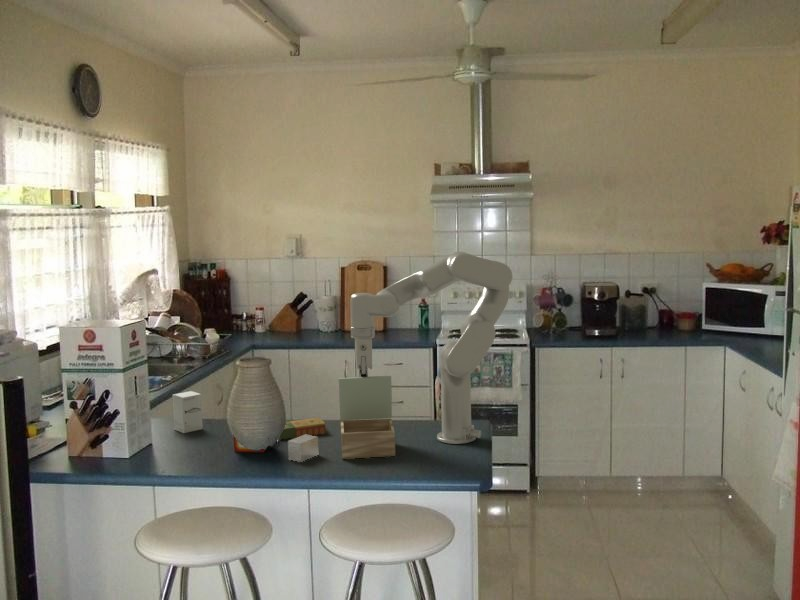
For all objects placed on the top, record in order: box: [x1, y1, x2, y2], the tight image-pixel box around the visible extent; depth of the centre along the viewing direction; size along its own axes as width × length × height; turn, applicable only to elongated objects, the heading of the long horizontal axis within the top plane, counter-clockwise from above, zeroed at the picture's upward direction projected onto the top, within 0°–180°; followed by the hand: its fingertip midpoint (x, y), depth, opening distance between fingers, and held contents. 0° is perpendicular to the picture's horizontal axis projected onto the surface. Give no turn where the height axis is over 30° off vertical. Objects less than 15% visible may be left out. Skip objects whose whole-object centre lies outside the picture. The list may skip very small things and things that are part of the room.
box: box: [340, 418, 396, 460], centre depth 242 cm, size 14×16×8 cm
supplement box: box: [171, 390, 204, 434], centre depth 270 cm, size 7×7×13 cm
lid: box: [338, 375, 393, 421], centre depth 247 cm, size 14×16×1 cm
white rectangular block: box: [287, 434, 320, 463], centre depth 237 cm, size 5×8×6 cm, turn 145°
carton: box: [278, 416, 327, 441], centre depth 263 cm, size 8×16×4 cm, turn 111°
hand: (363, 389), depth 248 cm, fingers closed
